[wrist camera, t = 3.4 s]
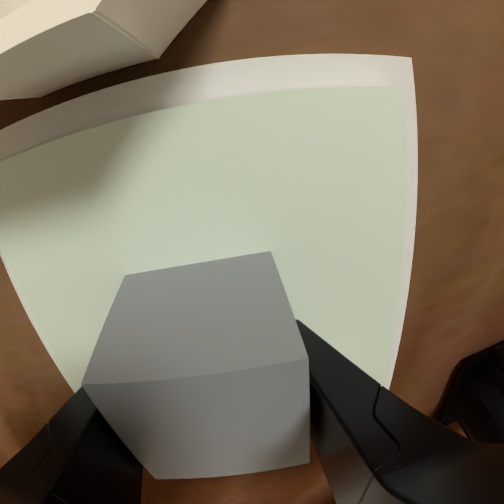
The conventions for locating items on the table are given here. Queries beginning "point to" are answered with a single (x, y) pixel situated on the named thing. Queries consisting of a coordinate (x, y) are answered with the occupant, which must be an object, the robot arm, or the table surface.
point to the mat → (229, 85)
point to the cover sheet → (218, 209)
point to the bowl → (81, 39)
